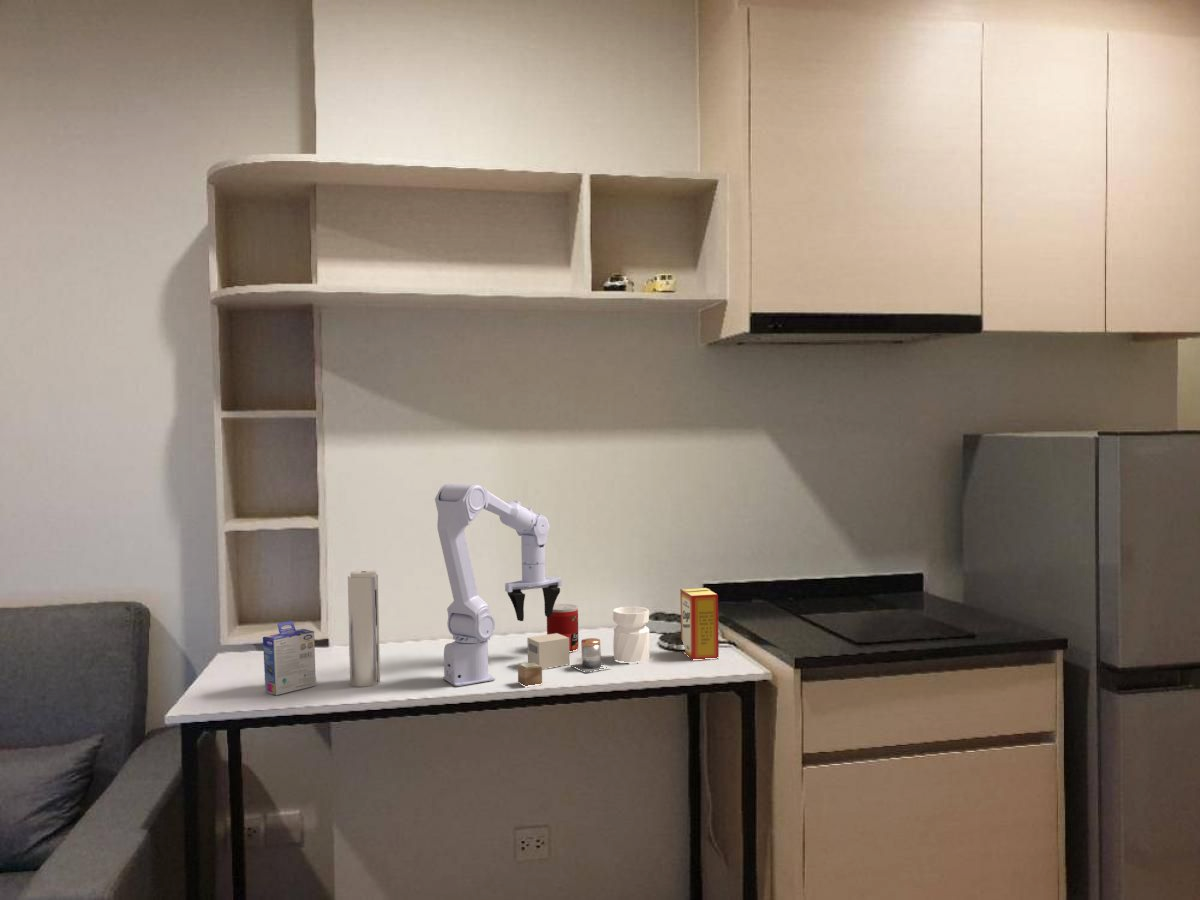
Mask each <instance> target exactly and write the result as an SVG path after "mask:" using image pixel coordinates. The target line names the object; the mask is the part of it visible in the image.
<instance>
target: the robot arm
mask: <svg viewBox="0 0 1200 900" xmlns="http://www.w3.org/2000/svg"><path fill="white" fill-rule="evenodd" d="M434 502H435V507H436V511H437V524H436V525H437V526H436V527H437V532H438V536H439V540H440V541H439V542H440V545H441V549H442V555H443V559H444V564H445V567H446V573H447V577H448V580H449V585H450V588H451V594H452V598H453V600H452V602H451V603H450V604H449V606H448V607H447V609H446V611H447V622H446V623H447V630H448V632H449V633H450V634H451V635H452V640H454V641H452V642H450V643H449V642H448V643H446V644H445V645H444V649H443V671H444V672H443V675H444V676H442V679H443V680H444V681H447V682H448V683H450V684H451V685H453V686H454V687H460V686H461V687H462V686H468V685H472V684H473V685H474V684H479V683H484V682H490V681H495V680H496V677H495V676H493V675H491V674H489V646H488V645H489V643H488V642H489V640H491V637H492V636H493V634H494V631H495V629H496V628H495V627H496V621H495V620H496V619H495V617H494V616H493V615H494V614H492V613H491V611H490V608H489V605H488V603H487V602H486V601H485V600H483V599H482V597H480V596H479V593H478V591H479V590H478V588H477V583H476V578H475V574H474V568H473V566H472V565H473V564H472V560H471V556H470V551H469V547H468V543H467V538H466V533H465V529H466V528H467V527H468V526H469V525H470V524H472V522H473V521H474V520H475V518H477V517H478V515H479V514H480V513H481V512H482V511H483V510H485V511H488V512H489V513H493V514H494V515H496V516H499V521H500V522H501V524H503V525H505V526H507V527H509V528H510V529H513V530H515V532H516V534H517V535H518V536H519V537H520V538H521V539H520V540H521V545H520V546H521V547H520V549H521V580H518V581H517V580H516V581H513V582H505V583H504V592H507V596H508V597H509V599H510V601H511V603H512V605H513V608H514V611H515V615H516V620H517V621H519V622H524V619H525V612H524V607H525V598H526V593H523V591H525V590H535V589H536V590H537V589H542V593H543V600H544V616H545V617H546V618H547V617H551V616H552V611H553V607H554V605H555V604H556V600H557V598H558V596H559V594H560V593H561V588H560V587H562V586H563V585H562V584H563V583H562V582H563V580H562V579H563V578H562V577H558V576H557V577H546V544H547V543H548V534H549V532H550V529H551V524H550V523H549V520H548V518H547V517H546V516H545V515H544V514H540V513H535V512H533V509H532V508H526V507H525V506H522V503H521V501H518V500H513V501H508V502H506V501H504V500H502V499H501V498H499V497H498V496H496V495H495V494H493V493H492V492H490V491H488V488H486V487H484V486H483V487H482V486H481V485H480V484H453V483H444V484H443V485H442V486H441V487H440V489H439V490H438V492H437V494H436V495H435V498H434Z"/></svg>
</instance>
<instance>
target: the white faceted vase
mask: <svg viewBox="0 0 1200 900" xmlns="http://www.w3.org/2000/svg"><path fill="white" fill-rule="evenodd" d="M649 618H650V609H648V607H647V608H646V607H641V606H622V607H616V608H613V612H612V620H613V622H614V623H615V624H617V626H616V627H614V628H613V660H614V659H615V660H618V661H624V662H636V661H644V660H647V659H648V658H649V657H650V658H651V656H650V628H649V627H647V626H646V624H647V623H648V622H650V621H649ZM650 658H649V659H650ZM615 660H614V661H615Z"/></svg>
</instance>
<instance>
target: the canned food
mask: <svg viewBox="0 0 1200 900" xmlns="http://www.w3.org/2000/svg"><path fill="white" fill-rule="evenodd" d="M555 633H558V634H560V635H563V636H566V637H568V638H569V651H573V650H576V649H579V607H578V605H575V604H571V603H555V604H554V607H553V611H552V616H551V617H547V616H546V635H548V634H555Z"/></svg>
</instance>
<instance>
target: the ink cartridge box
mask: <svg viewBox="0 0 1200 900" xmlns="http://www.w3.org/2000/svg"><path fill="white" fill-rule="evenodd" d="M284 626H291V627H287V628H283V627H284ZM277 628H278V633H276V634H271V635H265V636H262V648H263V649H262V651H263V665H264V667H263V668H264V671H263V672H264V686H265V687H264V689H265V690H264V691H266V693H268V694H270V693H271V694H270V695H273V696H279V695H282V694H287V693H290V692H291V693H292V692H295V691H299V690H304V689H307V688H311V687H315V686H317V681H316V652H315V651H316V650H315V631H314V630H309V629H306V628H300V629H296V627H295V624H294V621H293V620H290V621H285V622H284V621H282V622H279V623H277Z"/></svg>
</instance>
